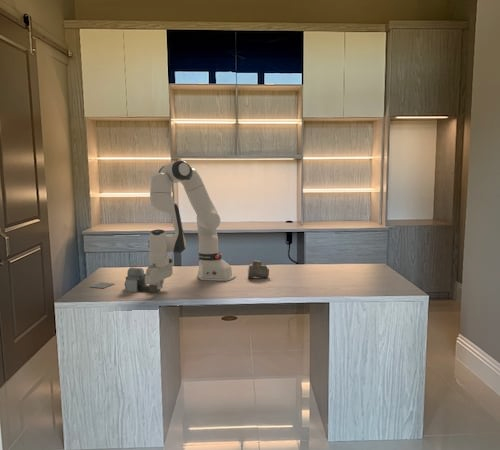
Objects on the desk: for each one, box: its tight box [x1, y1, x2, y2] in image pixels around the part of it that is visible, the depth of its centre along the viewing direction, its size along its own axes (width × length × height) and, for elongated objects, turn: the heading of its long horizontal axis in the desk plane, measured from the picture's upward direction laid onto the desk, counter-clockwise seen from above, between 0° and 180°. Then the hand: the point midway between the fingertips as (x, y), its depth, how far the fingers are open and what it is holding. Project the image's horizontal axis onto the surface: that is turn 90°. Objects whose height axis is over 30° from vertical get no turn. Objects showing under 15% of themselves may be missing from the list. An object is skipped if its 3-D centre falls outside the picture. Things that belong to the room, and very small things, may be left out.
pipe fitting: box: [247, 260, 270, 279], centre depth 251 cm, size 12×8×10 cm
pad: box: [89, 282, 115, 290], centre depth 238 cm, size 9×9×1 cm
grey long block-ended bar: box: [124, 280, 162, 294], centre depth 229 cm, size 20×4×4 cm, turn 70°
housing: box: [125, 266, 147, 293], centre depth 230 cm, size 6×9×12 cm, turn 159°
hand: (159, 288), depth 225 cm, fingers closed, pressing on grey long block-ended bar
